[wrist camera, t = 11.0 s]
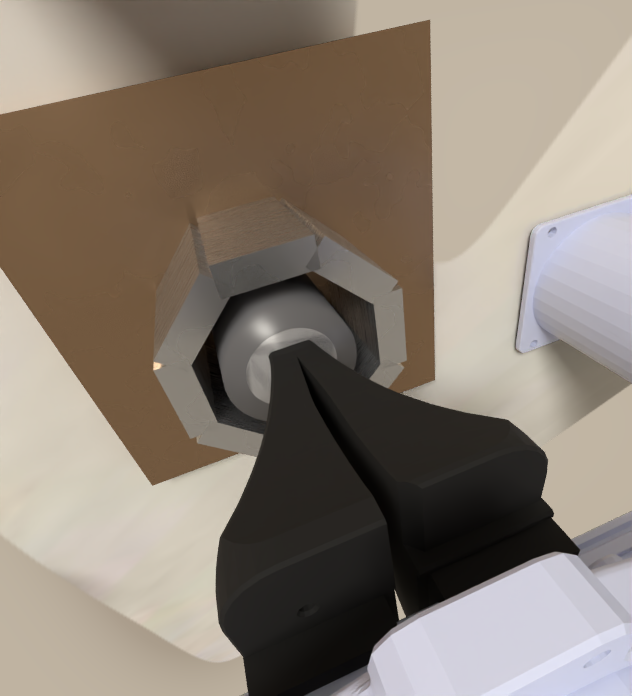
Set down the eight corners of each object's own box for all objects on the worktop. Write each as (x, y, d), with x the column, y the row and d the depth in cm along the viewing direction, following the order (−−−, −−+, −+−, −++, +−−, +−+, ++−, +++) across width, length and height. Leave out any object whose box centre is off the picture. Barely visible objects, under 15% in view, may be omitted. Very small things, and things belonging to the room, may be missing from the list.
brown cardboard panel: (415, 23, 14) (544, -13, 9) (425, 370, 23) (493, 441, 18) (-75, 132, 12) (-241, 158, 7) (152, 470, 21) (149, 582, 16)
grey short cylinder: (295, 233, 16) (342, 285, 12) (321, 323, 18) (366, 390, 14) (187, 274, 15) (198, 342, 11) (230, 360, 18) (251, 440, 14)
